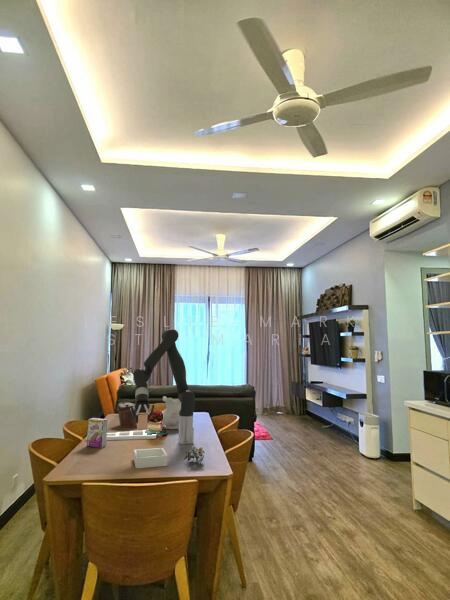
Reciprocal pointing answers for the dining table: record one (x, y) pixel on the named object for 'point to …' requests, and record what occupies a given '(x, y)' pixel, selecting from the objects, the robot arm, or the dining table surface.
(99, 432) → the candy bar box
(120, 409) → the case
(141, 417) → the tub
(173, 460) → the dining table surface
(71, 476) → the dining table surface
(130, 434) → the holder
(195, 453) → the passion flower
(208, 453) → the dining table surface
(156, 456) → the tray
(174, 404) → the ceramic pitcher
